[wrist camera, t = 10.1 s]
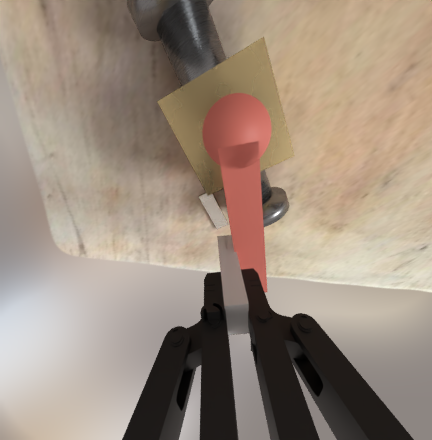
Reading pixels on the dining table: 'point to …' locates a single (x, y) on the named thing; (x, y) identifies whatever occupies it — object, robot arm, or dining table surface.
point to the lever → (241, 171)
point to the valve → (213, 92)
